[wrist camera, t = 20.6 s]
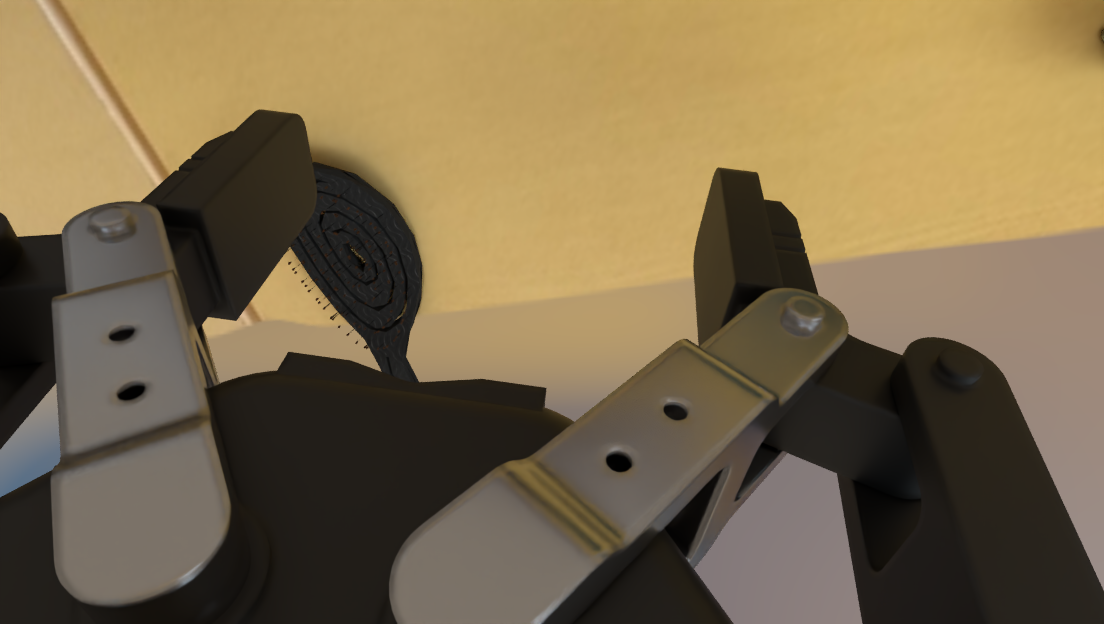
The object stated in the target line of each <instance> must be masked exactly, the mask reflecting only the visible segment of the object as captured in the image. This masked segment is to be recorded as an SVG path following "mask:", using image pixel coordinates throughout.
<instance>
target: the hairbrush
mask: <svg viewBox="0 0 1104 624" xmlns="http://www.w3.org/2000/svg"><path fill="white" fill-rule="evenodd" d="M312 164H313V169H314V175H315V180H316V186H317V200H316V206H315V209H314V212H313V214H312V216H311V218H310V219H309V221H308V222H307V223H306V225H305V226H304V228H303V229H302V230H301V232H300V233H299V234H298V236H297V237H296V239H295V240H294V241H293V243H292V244H291V246H290V247H291V248H292V250H293V251H294V253H295V255H296V256H297V258H298V259H299V261H300V262H301V264H302V265H303V267H304V268H305V270H306V271H307V273H308V274H309V276H310V277H311V279H312V281H314V282H315V284H316V285H317V286H318V288H319V289H320V290H321V291H322V293H323V294H324V295H325V296H326V298H327V299H328V300H329V301H330V303H331V304H332V305H333V306H334V308H335V309H336V310H337V311H338V312H339V313H340V314H341V315H342V316H343V317H344V318H345V320H346V321H347V322H348V323H349V324H350V325H351V326H352V327H353V328H354V329H355V330H356V331H357V332H358V333H359V334H360V335H361V336H362V337H363V338H364V339H365V341H366V343H367V345H368V346H369V348H370V350H371V352H372V354H373V355H374V357H375V359H376V361H377V363H378V365H379V366H380V369H381V371H382V372H383V373H386V374H389V375H391V376H394V377H397V378H400V379H402V380H405V381H409V382H419V381H418V379H417V377H416V375H415V373H414V371H413V369H412V368H411V366H410V364H409V362H408V360H407V358H406V353H407V346H408V341H409V335H410V330H411V328H412V326H413V323H414V320H415V317H416V314H417V311H418V308H419V305H420V301H421V294H422V263H421V259H420V255H419V252H418V248H417V245H416V241H415V237H414V235H413V233H412V232H411V230H410V229H409V227H408V225H407V224H406V222H405V221H404V219H403V218H402V216H401V215H400V213H399V211H398V210H397V208H396V207H395V205H394V204H393V203H392V202H390V201H389V200H388V199H387V198H385V197H384V196H383V195H382V194H380V193H379V192H378V191H377V190H375V189H374V188H373V187H372V186H370V185H369V184H368V183H366V182H365V181H364V180H363V179H361V178H360V177H359V176H358V175H356V174H354V173H350V172H347V171H344V170H340V169H337V168H334V167H330V166H327V165H324V164H320V163H317V162H313V163H312ZM324 211H326V212H325V214H323V212H324ZM349 244H350V245H351V246H352V247H353V248H352V249H355V250H356V253H357V252H358V254H359V255H360V256H361V257H362V258H363V262H364V261H366V262H365V264H363V262H361V261H360V260H359V259H358V258H357V257H356V255H355V254H356V253H355V254H354V252H355V251H354V252H352V251H351V248H350V245H349ZM291 248H290V249H291ZM290 249H289V250H290ZM287 251H288V250H287ZM287 251H286V252H287ZM290 263H291V262H289V263H288V265H290ZM298 266H299V265H298ZM294 269H295V268H293V269H292V270H293V271H294ZM299 270H300V269H299ZM296 273H297V271H295V273H294V274H296ZM377 273H378V275H377ZM307 278H308V277H307ZM307 278H306V279H307ZM312 281H311V282H312ZM301 282H302V283H303V282H304V280H302V281H301ZM394 282H395V284H394ZM305 287H307V285H305ZM314 287H315V286H314ZM393 289H394V291H393ZM310 291H311V289H310V290H308V292H310ZM392 291H393V296H392V298H391V299H390V301H389V302H388V300H389V298H390V297H391V294H392ZM406 296H407V299H406ZM318 299H319V298H317V299H316V301H317V300H318ZM406 300H407V307H406V310H405V312H403V316H402V317H400V318H399V319H397V317H398V316H399V315H400V314H401V313H402V311H403V309H404V305H405V303H406ZM319 303H321V302H320V301H319V302H318V304H319ZM330 303H329V304H330ZM329 304H328V305H329ZM328 305H327V306H328ZM327 306H326V307H327ZM326 307H324V308H323V309H325V308H326ZM338 312H337V313H338ZM337 313H336V314H337ZM336 314H335V315H336ZM335 315H333V316H331V317H330V319H332V318H333V317H334V316H335ZM336 316H337V315H336ZM336 316H335V317H336ZM335 317H334V318H335ZM334 318H333V319H332V320H334ZM396 319H397V320H396ZM338 328H340V326H338ZM348 335H349V333H348V334H347V336H348ZM357 343H358V341H357V342H356V344H357ZM367 345H366V346H367ZM366 346H365V347H364V348H366V349H367V348H368V346H367V347H366Z"/></svg>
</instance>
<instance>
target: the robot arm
mask: <svg viewBox="0 0 1104 624" xmlns="http://www.w3.org/2000/svg"><path fill="white" fill-rule="evenodd" d="M191 157H192V158H191V159H188V160H186V161H185V162H184V163H183V164H182V165H181V166H180V167H179V171H177V170H175V171H174V172H173V173H172V174H171V175H170V176H169V177H168V178H166V179H165V180H164V181H163V182H162V183H161V184H160V185H159V186H158V187H157V188H155V189H154V190H153V191H152V192H151V193H150V194H149V195H148V196H147V197H145V198H144V199H143V200H142V201H141V202H133V201H124V202H114V203H108V204H103V205H99V206H96V207H93V208H90V209H88V210H86V211H84V212H82V213H80V214H78V215H76V216H75V217H73V218H72V219H71V220H70V221H69V222H67V224H66V225H65V226H64V228H63V230H62V234H56V235H40V236H24V237H17V236H16V234H15V232H14V230H13V229H12V227H11V225H10V223H9V221H8V220H7V218H6V216H4V215H3V214H2V213H0V449H1V448H2V447H3V445H4V444H5V443H6V442H7V441H8V439H9V438H10V437H11V436H12V435H13V434H14V432H15V431H16V430H17V428H19V426H20V425H21V424H22V423H23V422H24V420H25V419H26V418H27V417H28V416H29V414H30V413H31V412H32V411H33V410H34V409H35V407H36V406H37V405H38V404H39V403H40V401H41V400H42V399H43V398H44V396H45V395H46V394H47V393H48V392H49V391H50V389H51V388H52V387H53V386H54V385H55V384H57V400H58V415H59V416H58V417H59V433H60V434H59V435H60V451H61V457H60V462H59V464H58V465H56V466H55V467H54V468H53V470H52V471H50V472H48V473H46V474H44V475H42V476H40V477H38V478H36V479H34V480H32V481H31V482H29V483H27V484H25V485H23V486H21V487H19V488H17V489H15V490H14V491H12V492H10V493H8V494H6V495H4V496H2V497H0V624H733V622H732V621H731V620H730V618H729V617H728V615H727V614H726V613H725V611H724V610H723V609H722V607H721V606H720V604H719V603H718V602H717V600H716V599H715V598H714V596H713V595H712V593H711V592H710V591H709V589H708V588H707V587H706V585H705V584H704V582H703V581H702V580H701V578H700V577H699V576H698V574H697V573H696V572H695V570H694V568H695V567H696V566H697V565H698V563H699V562H700V561H701V560H702V558H703V557H704V556H705V555H706V553H707V552H708V550H709V549H710V548H711V546H712V545H713V543H714V542H715V540H716V539H717V537H718V535H719V534H720V532H721V531H722V529H723V527H724V526H725V525H726V523H727V522H728V521H729V519H730V518H731V517H732V516H733V514H734V513H735V512H736V511H737V510H738V509H739V508H740V507H741V505H742V504H743V503H744V502H745V501H746V500H747V499H748V497H749V496H750V495H751V494H752V493H753V492H754V491H755V490H756V488H757V487H758V486H759V485H760V484H761V483H762V482H763V480H764V479H765V478H766V477H767V476H768V474H770V472H771V471H772V470H773V469H774V468H775V467H776V466H777V465H778V463H779V462H780V461H781V460H782V459H783V458H784V457H785V455H786V454H787V453H789V454H792V455H794V456H796V457H799V458H801V459H804V460H806V461H809V462H811V463H813V464H816V465H818V466H821V467H823V468H826V469H828V470H830V471H833V472H835V473H837V476H838V482H839V488H840V494H841V499H842V506H843V511H844V518H845V524H846V529H847V535H848V541H849V547H850V552H851V559H852V565H853V570H854V576H855V582H856V588H857V594H858V600H859V606H860V612H861V617H862V623H863V624H1104V591H1103V588H1102V586H1101V584H1100V582H1099V580H1098V578H1097V575H1096V573H1095V571H1094V569H1093V566H1092V565H1091V562H1090V560H1089V558H1088V556H1087V553H1086V551H1085V549H1084V547H1083V545H1082V543H1081V540H1080V538H1079V536H1078V534H1077V532H1076V530H1075V527H1074V525H1073V523H1072V521H1071V519H1070V517H1069V514H1068V512H1067V510H1066V508H1065V506H1064V504H1063V501H1062V499H1061V497H1060V495H1059V493H1058V491H1057V488H1056V486H1055V484H1054V482H1053V480H1052V478H1051V475H1050V473H1049V471H1048V469H1047V467H1046V465H1045V462H1044V460H1043V458H1042V456H1041V454H1040V451H1039V449H1038V447H1037V445H1036V443H1035V441H1034V438H1033V436H1032V434H1031V432H1030V430H1029V428H1028V425H1027V423H1026V421H1025V419H1024V417H1023V415H1022V412H1021V410H1020V408H1019V406H1018V404H1017V401H1016V399H1015V397H1014V395H1013V393H1012V391H1011V388H1010V386H1009V384H1008V382H1007V380H1006V378H1005V376H1004V375H1003V373H1002V372H1001V371H1000V369H999V368H998V367H997V366H996V365H995V364H994V363H993V362H992V361H991V360H989V359H988V358H987V357H986V356H984V355H983V354H981V353H979V352H978V351H976V350H974V349H972V348H971V347H969V346H966V345H964V344H961V343H959V342H956V341H953V340H949V339H944V338H936V337H931V338H929V337H927V338H921V339H918V340H916V341H914V342H912V343H911V344H910V345H909V346H908V347H907V349H906V350H905V352H904V353H903V355H900V354H897V353H894V352H891V351H888V350H886V349H882V348H880V347H877V346H874V345H871V344H869V343H866V342H864V341H861V340H859V339H857V338H855V337H853V336H851V335H849V334H848V323H847V321H846V319H845V317H844V315H843V314H842V313H841V311H839V309H838V308H837V307H836V306H834V305H833V304H832V303H831V302H829V301H828V300H826V299H824V298H823V297H820V296H819V295H818V292H817V288H816V285H815V281H814V278H813V275H812V271H811V268H810V264H809V260H808V257H807V254H806V253H805V247H804V243H803V240H802V239H801V233H800V229H799V226H798V222H797V219H796V217H795V216H794V215H793V214H792V213H791V212H790V211H789V210H788V209H787V208H786V207H785V206H784V205H783V203H782V202H779V201H771V200H764V198H763V193H762V189H761V184H760V180H759V176H758V173H757V172H750V171H742V170H734V169H726V168H717V169H716V171H715V173H714V176H713V179H712V183H711V187H710V191H709V194H708V198H707V202H706V206H705V209H704V213H703V217H702V221H701V225H700V228H699V232H698V236H697V240H696V246H695V252H694V282H695V297H696V312H697V327H698V342H699V346H697V345H695V344H694V343H692V342H691V341H689V340H688V339H682V340H679V341H677V342H676V343H674V344H673V345H672V346H671V347H669V348H668V349H667V350H666V351H664V352H663V353H661V355H659V356H658V357H657V358H655V359H654V360H653V361H651V362H650V363H649V364H647V365H646V366H645V367H644V368H642V369H641V370H640V371H639V372H637V373H636V374H635V375H634V376H632V377H631V378H630V379H629V380H627V381H626V382H625V383H623V384H622V385H621V386H620V387H618V388H617V389H616V390H615V391H613V392H612V393H611V394H609V395H608V396H607V397H606V398H604V399H603V400H602V401H600V402H599V403H598V404H597V405H596V406H594V407H593V408H592V409H590V410H589V411H588V412H587V413H585V414H584V415H583V416H582V417H580V418H579V419H578V420H576V421H575V422H574V421H572V420H571V419H569V418H567V417H565V416H563V415H561V414H559V413H557V412H555V411H552V410H550V409H547V408H545V396H546V388H543V387H535V386H529V385H522V384H514V383H507V382H500V381H492V380H486V379H473V380H455V381H436V382H409V381H405V380H402V379H400V378H397V377H394V376H391V375H389V374H386V373H383V372H380V371H378V370H375V369H372V368H370V367H367V366H364V365H361V364H359V363H356V362H353V361H350V360H343V359H336V358H329V357H322V356H315V355H307V354H300V353H293V352H288V353H287V355H286V357H285V358H284V360H283V362H282V363H281V365H280V367H279V368H278V370H277V371H269V372H261V373H255V374H250V375H246V376H242V377H238V378H235V379H232V380H228V381H225V382H222V383H220V382H219V379H218V375H217V372H216V368H215V365H214V362H213V358H212V354H211V351H210V347H209V344H208V341H207V337H206V334H205V332H204V329H203V326H202V324H203V323H204V321H205V320H206V319H207V317H213V318H220V319H227V320H234V321H237V319H238V318H239V316H240V315H241V314H242V312H243V311H244V309H245V308H246V307H247V305H248V304H249V302H250V301H251V300H252V298H253V297H254V296H255V294H256V293H257V291H258V290H259V289H260V287H261V286H262V284H263V283H264V282H265V280H266V279H267V278H268V276H269V275H270V273H271V272H272V271H273V269H274V268H275V266H276V265H277V264H278V262H279V261H280V259H281V258H282V257H283V255H284V254H285V253H286V251H287V250H288V248H289V247H290V246H291V244H292V243H293V241H294V240H295V239H296V237H297V236H298V234H299V233H300V232H301V230H302V229H303V228H304V226H305V225H306V223H307V222H308V221H309V219H310V218H311V216H312V214H313V212H314V209H315V206H316V200H317V186H316V180H315V175H314V169H313V164H312V158H311V153H310V148H309V142H308V137H307V131H306V127H305V123H304V121H303V119H302V118H301V116H300V115H298V114H293V113H285V112H277V111H269V110H256V111H255V112H254V113H253V114H252V115H251V116H250V117H249V118H247V119H246V120H245V121H244V122H243V123H242V124H241V125H240V126H239V127H238V128H237V129H236V130H235V131H234V132H233V131H230V132H228V133H226V134H224V135H221V136H219V137H217V138H215V139H213V140H210V141H208V142H206V143H205V144H204V145H203V146H202V147H201V148H200V149H199V150H198V151H196V152H195V153H194V154H193V155H192V156H191Z"/></svg>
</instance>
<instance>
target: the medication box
mask: <svg viewBox="0 0 1104 624" xmlns="http://www.w3.org/2000/svg"><path fill="white" fill-rule="evenodd" d="M1101 38H1102V41H1103V43H1104V30H1102V32H1101Z"/></svg>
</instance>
